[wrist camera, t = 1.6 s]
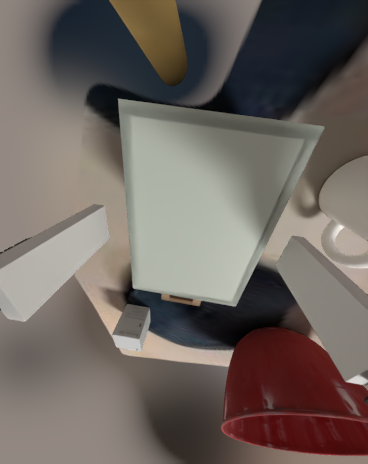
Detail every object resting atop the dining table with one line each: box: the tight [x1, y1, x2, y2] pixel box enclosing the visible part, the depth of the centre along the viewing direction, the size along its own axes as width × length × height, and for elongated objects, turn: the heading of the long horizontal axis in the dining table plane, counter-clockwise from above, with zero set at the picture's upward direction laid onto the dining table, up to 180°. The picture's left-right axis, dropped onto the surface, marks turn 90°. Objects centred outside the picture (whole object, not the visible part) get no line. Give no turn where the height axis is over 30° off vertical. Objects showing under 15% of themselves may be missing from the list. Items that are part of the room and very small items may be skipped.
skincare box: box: [112, 304, 150, 352], centre depth 36 cm, size 6×6×7 cm
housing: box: [118, 99, 325, 307], centre depth 16 cm, size 14×10×12 cm
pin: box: [109, 0, 188, 86], centre depth 10 cm, size 3×3×12 cm
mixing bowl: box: [221, 327, 368, 456], centre depth 33 cm, size 28×28×15 cm
